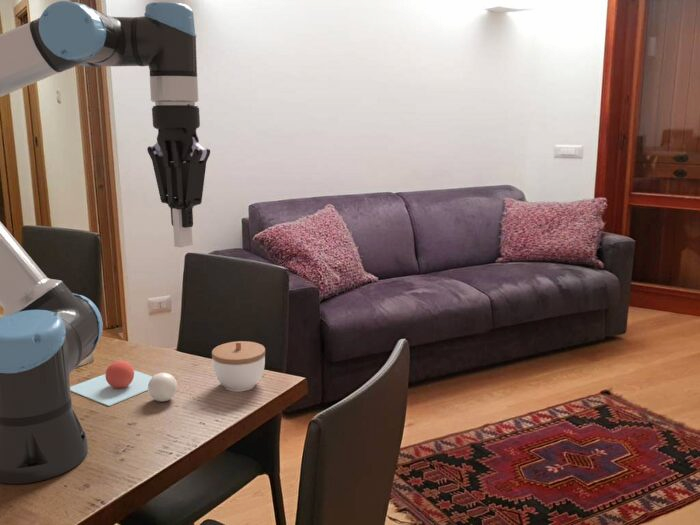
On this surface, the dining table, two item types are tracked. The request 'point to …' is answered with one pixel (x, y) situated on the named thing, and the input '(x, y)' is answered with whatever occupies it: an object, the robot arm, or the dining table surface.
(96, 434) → the dining table surface
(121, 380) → the red ball
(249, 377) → the lidded jar
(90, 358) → the stopper strip
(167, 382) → the cue ball
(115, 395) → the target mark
